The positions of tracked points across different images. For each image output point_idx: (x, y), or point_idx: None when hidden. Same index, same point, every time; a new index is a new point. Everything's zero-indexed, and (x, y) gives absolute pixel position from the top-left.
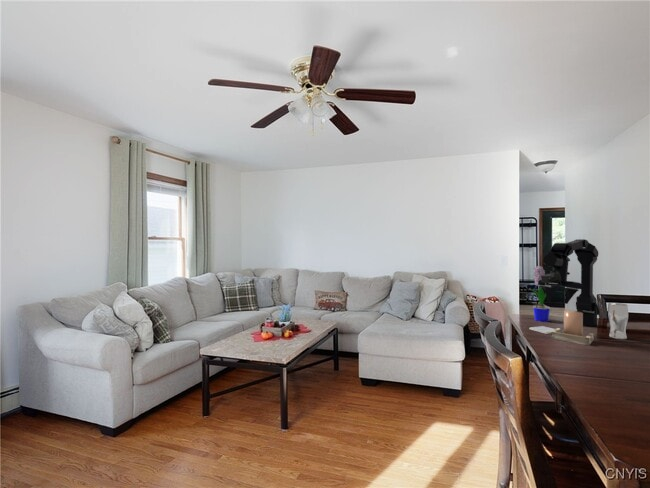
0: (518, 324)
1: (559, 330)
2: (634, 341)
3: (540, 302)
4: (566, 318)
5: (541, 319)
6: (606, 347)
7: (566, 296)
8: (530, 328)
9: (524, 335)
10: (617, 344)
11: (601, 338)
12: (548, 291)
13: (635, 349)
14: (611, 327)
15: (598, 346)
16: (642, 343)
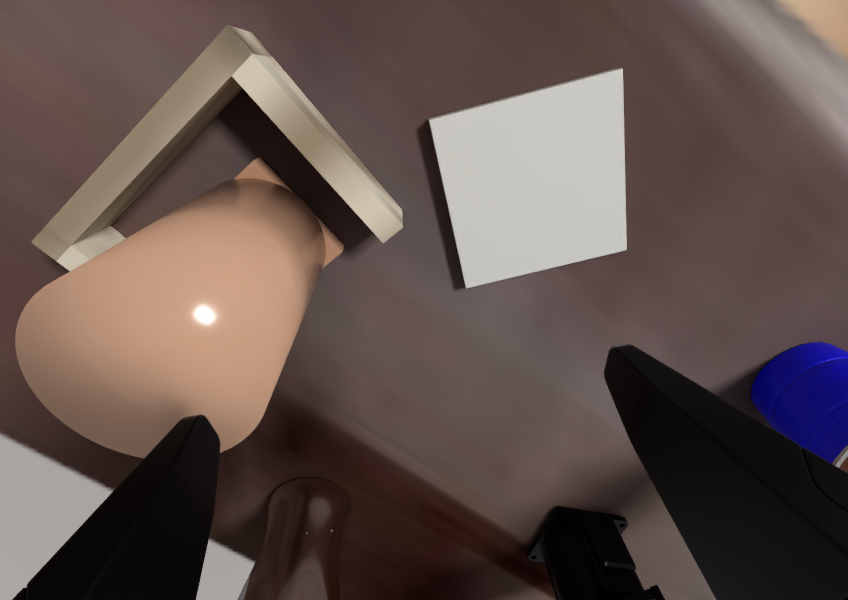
0: (803, 87)
1: (358, 210)
2: (230, 519)
3: None
4: (152, 233)
5: (784, 368)
6: None
7: (32, 584)
8: (606, 71)
9: None
10: None
11: (285, 419)
12: (812, 579)
13: (47, 427)
14: (300, 537)
15: (62, 271)
16: None
